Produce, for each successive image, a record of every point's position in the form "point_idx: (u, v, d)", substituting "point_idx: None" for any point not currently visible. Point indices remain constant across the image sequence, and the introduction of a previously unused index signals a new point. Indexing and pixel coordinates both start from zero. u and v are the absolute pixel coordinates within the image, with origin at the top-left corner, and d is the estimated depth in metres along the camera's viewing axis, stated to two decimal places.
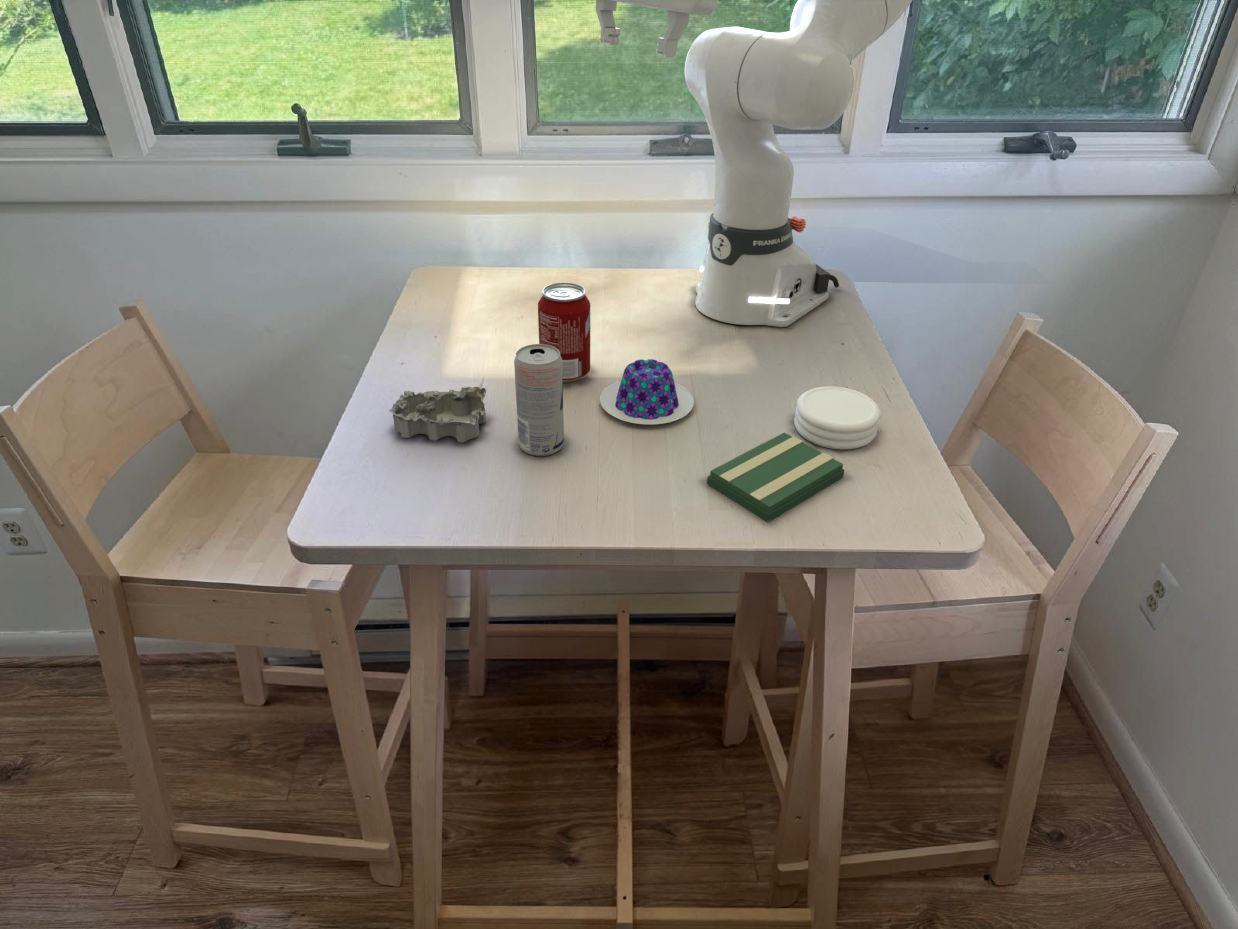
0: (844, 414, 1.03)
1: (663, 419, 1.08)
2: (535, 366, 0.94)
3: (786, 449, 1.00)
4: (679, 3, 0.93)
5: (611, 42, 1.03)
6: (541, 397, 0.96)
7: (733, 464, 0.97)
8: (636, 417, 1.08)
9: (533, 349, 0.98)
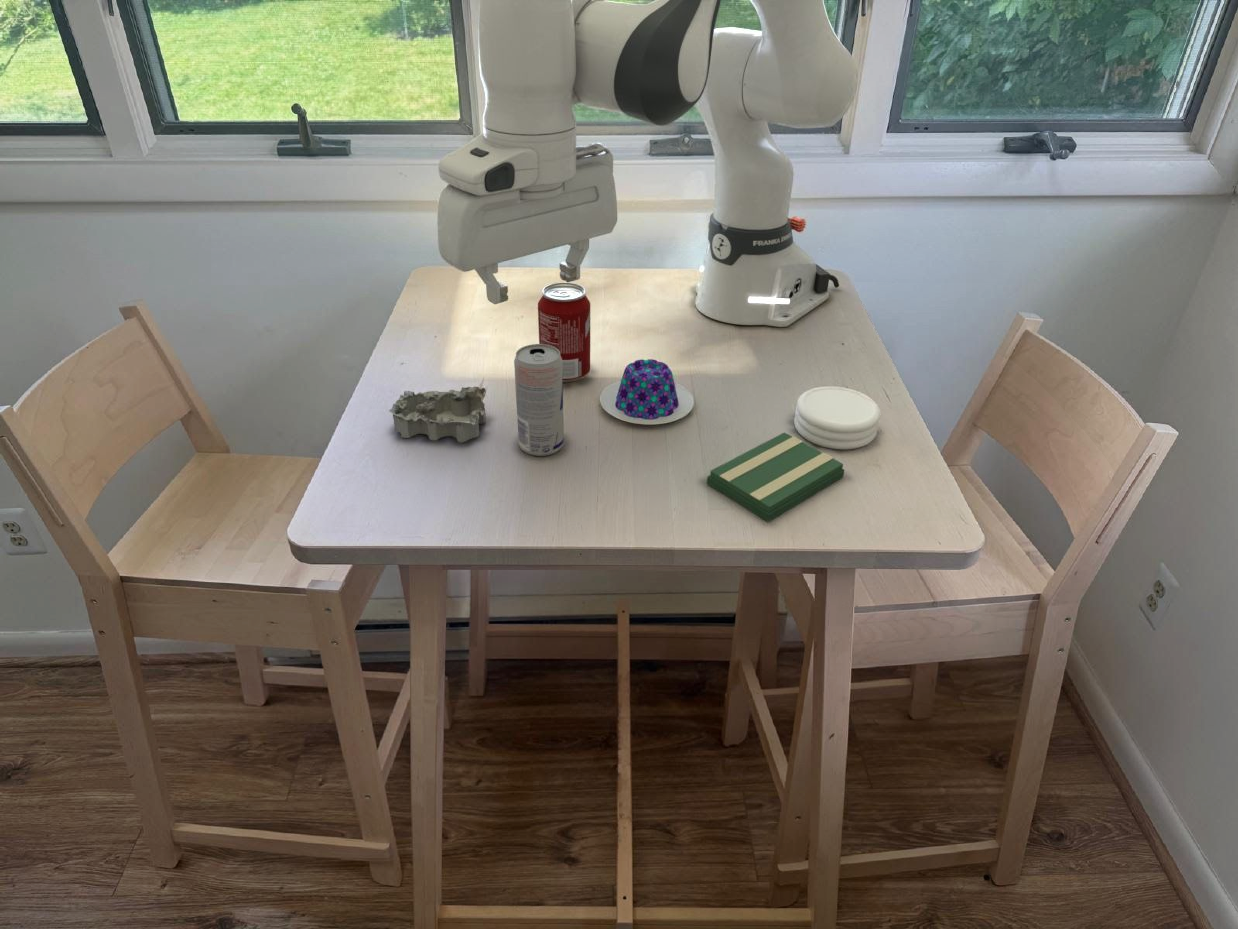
0: (844, 414, 1.03)
1: (663, 419, 1.08)
2: (535, 366, 0.94)
3: (786, 449, 1.00)
4: (601, 229, 0.92)
5: None
6: (541, 397, 0.96)
7: (733, 464, 0.97)
8: (636, 417, 1.08)
9: (533, 349, 0.98)
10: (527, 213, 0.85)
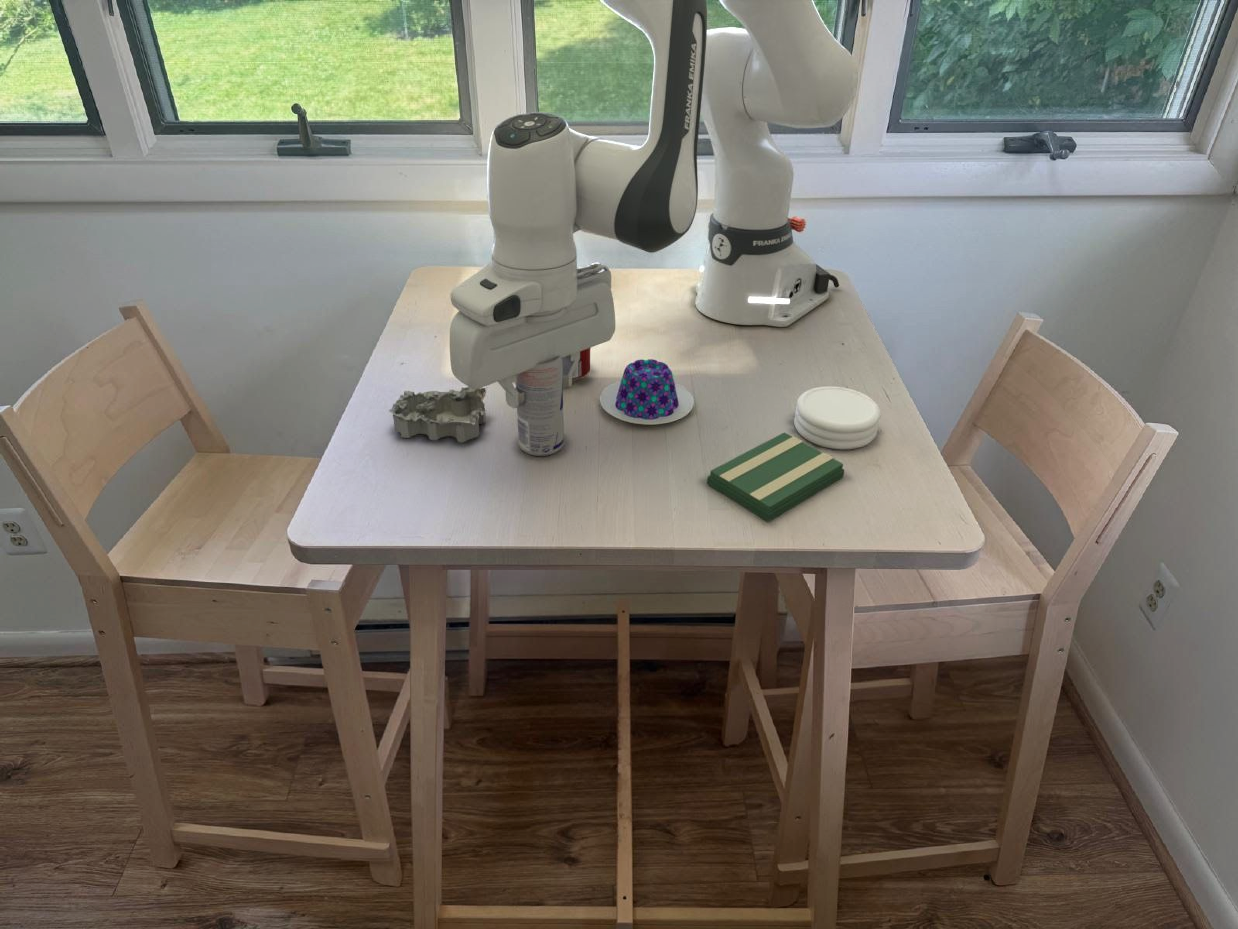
0: (844, 414, 1.03)
1: (663, 419, 1.08)
2: (535, 366, 0.94)
3: (786, 449, 1.00)
4: (600, 339, 0.99)
5: None
6: (541, 397, 0.96)
7: (733, 464, 0.97)
8: (636, 417, 1.08)
9: None
10: (532, 332, 0.92)
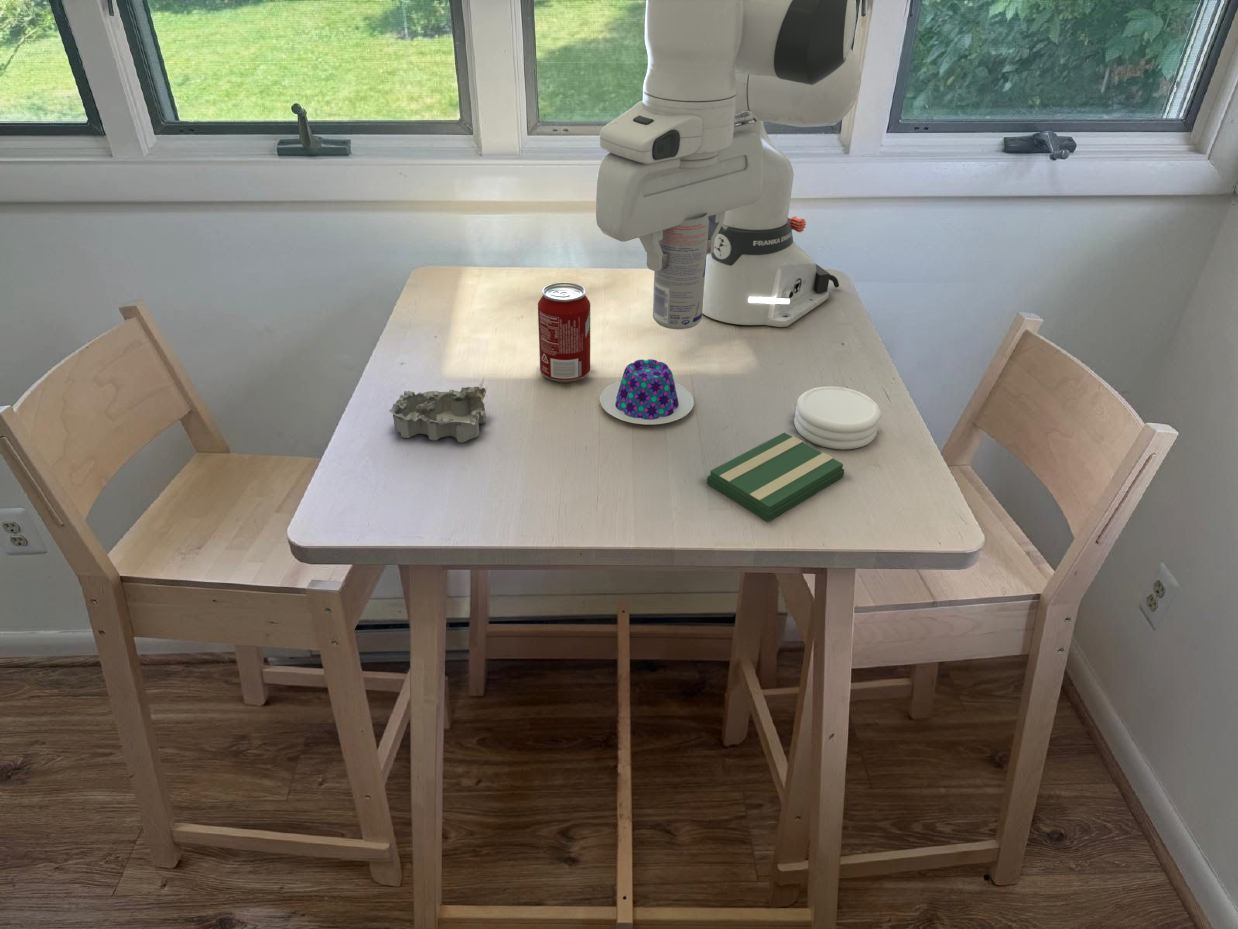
0: (844, 414, 1.03)
1: (663, 419, 1.08)
2: (683, 222, 0.86)
3: (786, 449, 1.00)
4: (747, 199, 0.91)
5: None
6: (686, 258, 0.88)
7: (733, 464, 0.97)
8: (636, 417, 1.08)
9: None
10: (683, 182, 0.84)
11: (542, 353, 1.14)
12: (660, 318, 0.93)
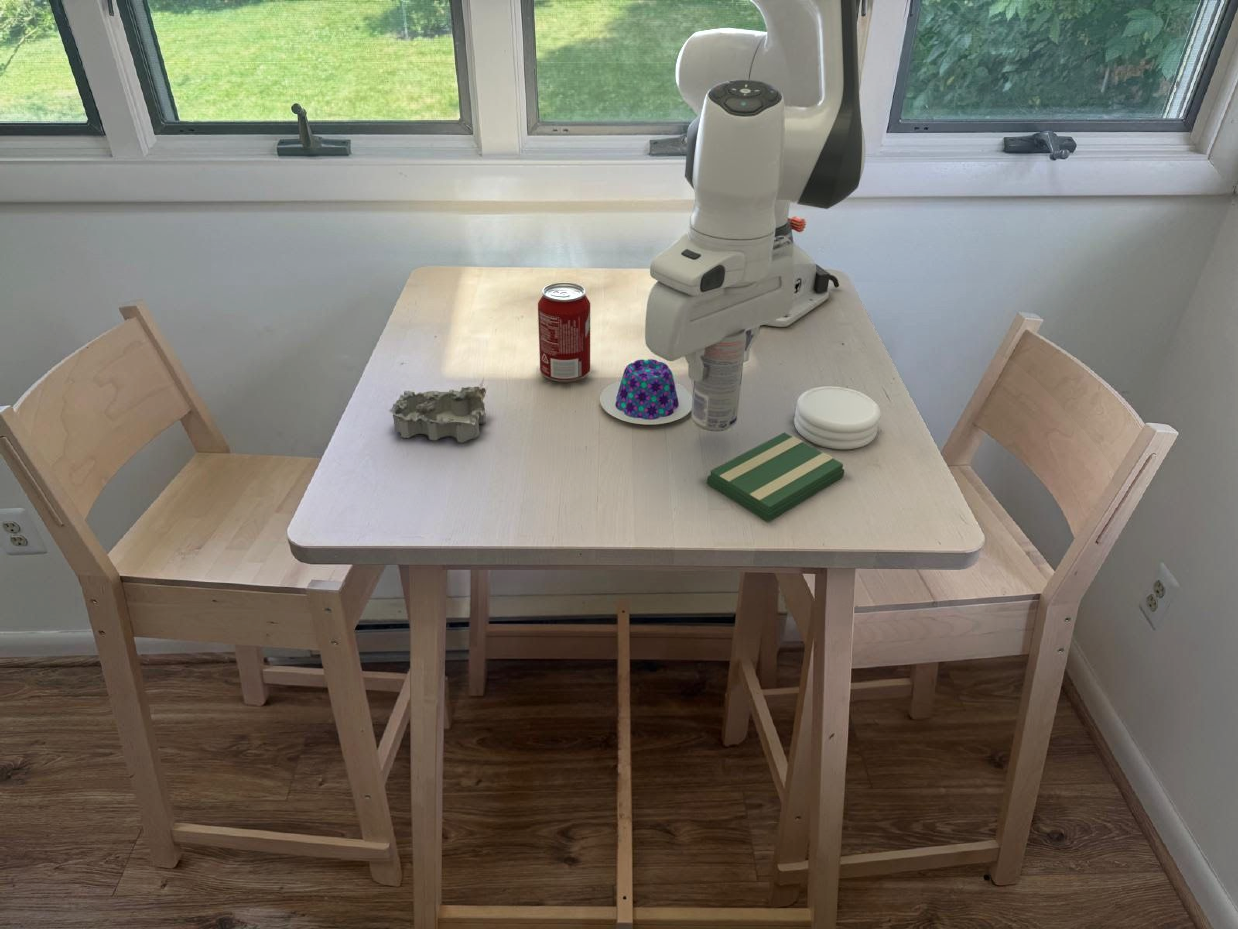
0: (844, 414, 1.03)
1: (663, 419, 1.08)
2: (724, 339, 0.94)
3: (786, 449, 1.00)
4: (779, 313, 0.98)
5: None
6: (725, 370, 0.96)
7: (733, 464, 0.97)
8: (636, 417, 1.08)
9: None
10: (724, 305, 0.92)
11: (542, 353, 1.14)
12: (699, 421, 1.00)
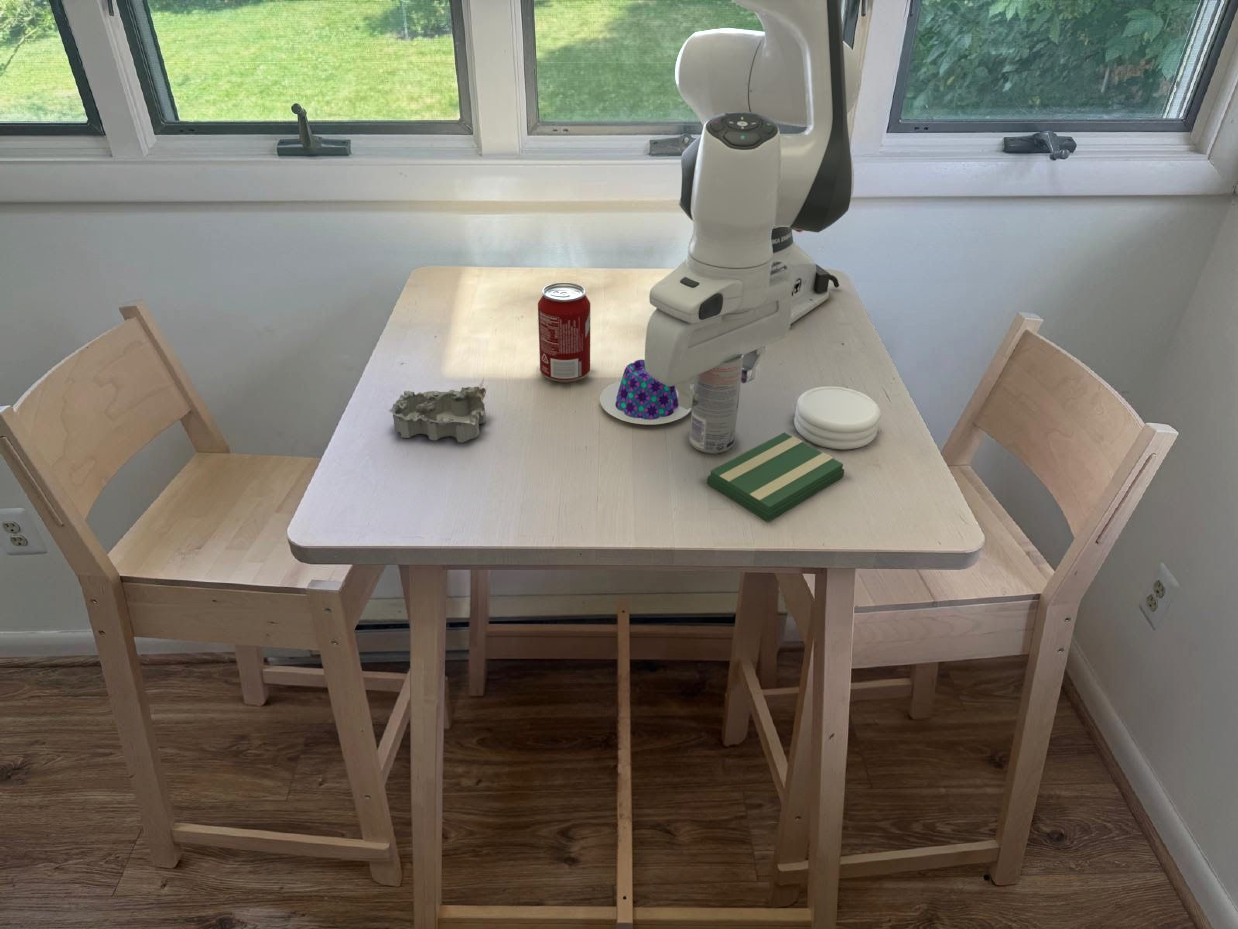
0: (844, 414, 1.03)
1: (663, 419, 1.08)
2: (721, 365, 0.95)
3: (786, 449, 1.00)
4: (777, 336, 1.00)
5: None
6: (722, 395, 0.97)
7: (733, 464, 0.97)
8: (636, 417, 1.08)
9: None
10: (723, 330, 0.93)
11: (542, 353, 1.14)
12: (696, 444, 1.02)
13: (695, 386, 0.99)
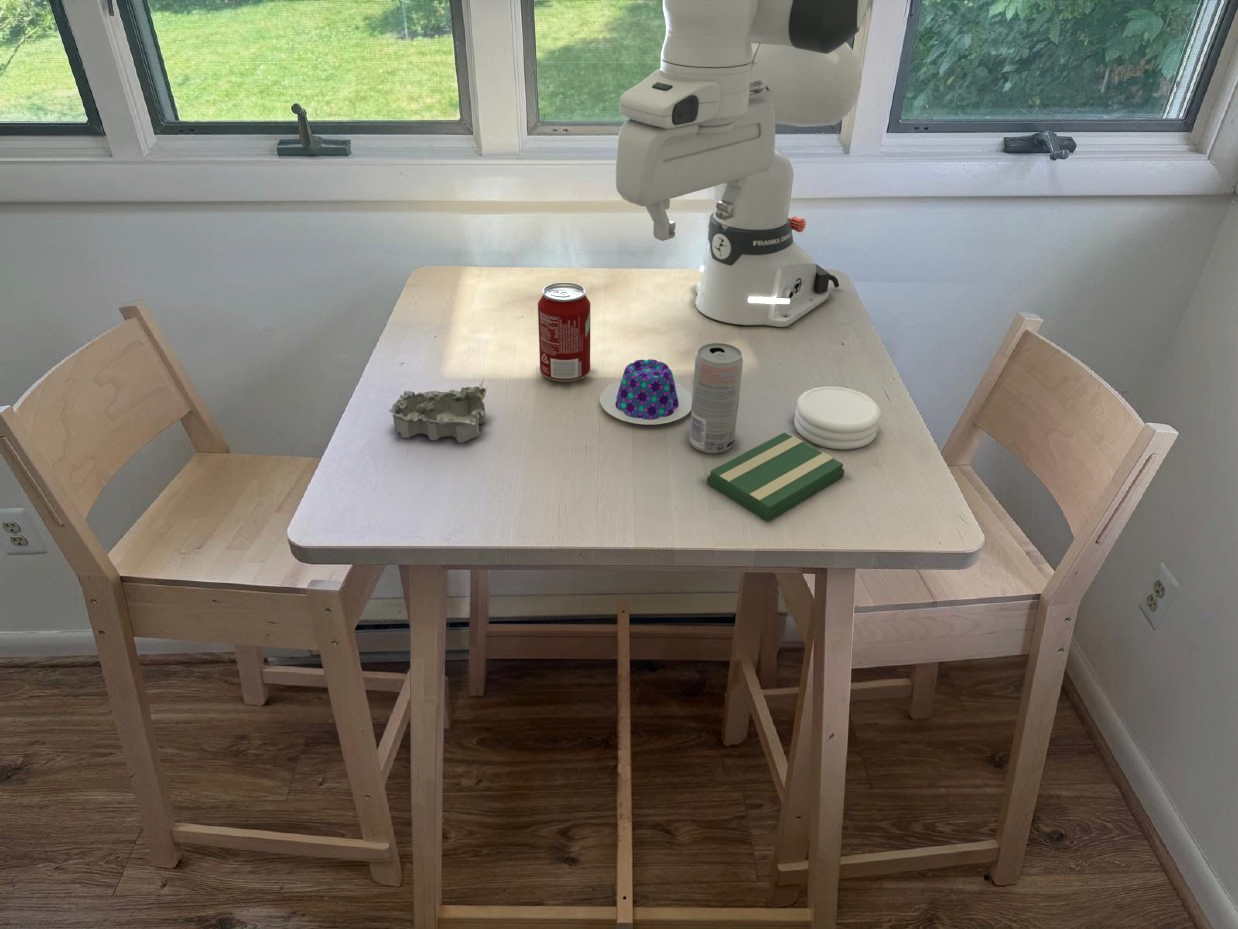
0: (844, 414, 1.03)
1: (663, 419, 1.08)
2: (721, 365, 0.95)
3: (786, 449, 1.00)
4: (760, 166, 0.93)
5: None
6: (722, 395, 0.97)
7: (733, 464, 0.97)
8: (636, 417, 1.08)
9: (712, 348, 0.99)
10: (700, 148, 0.86)
11: (542, 353, 1.14)
12: (696, 444, 1.02)
13: (695, 386, 0.99)
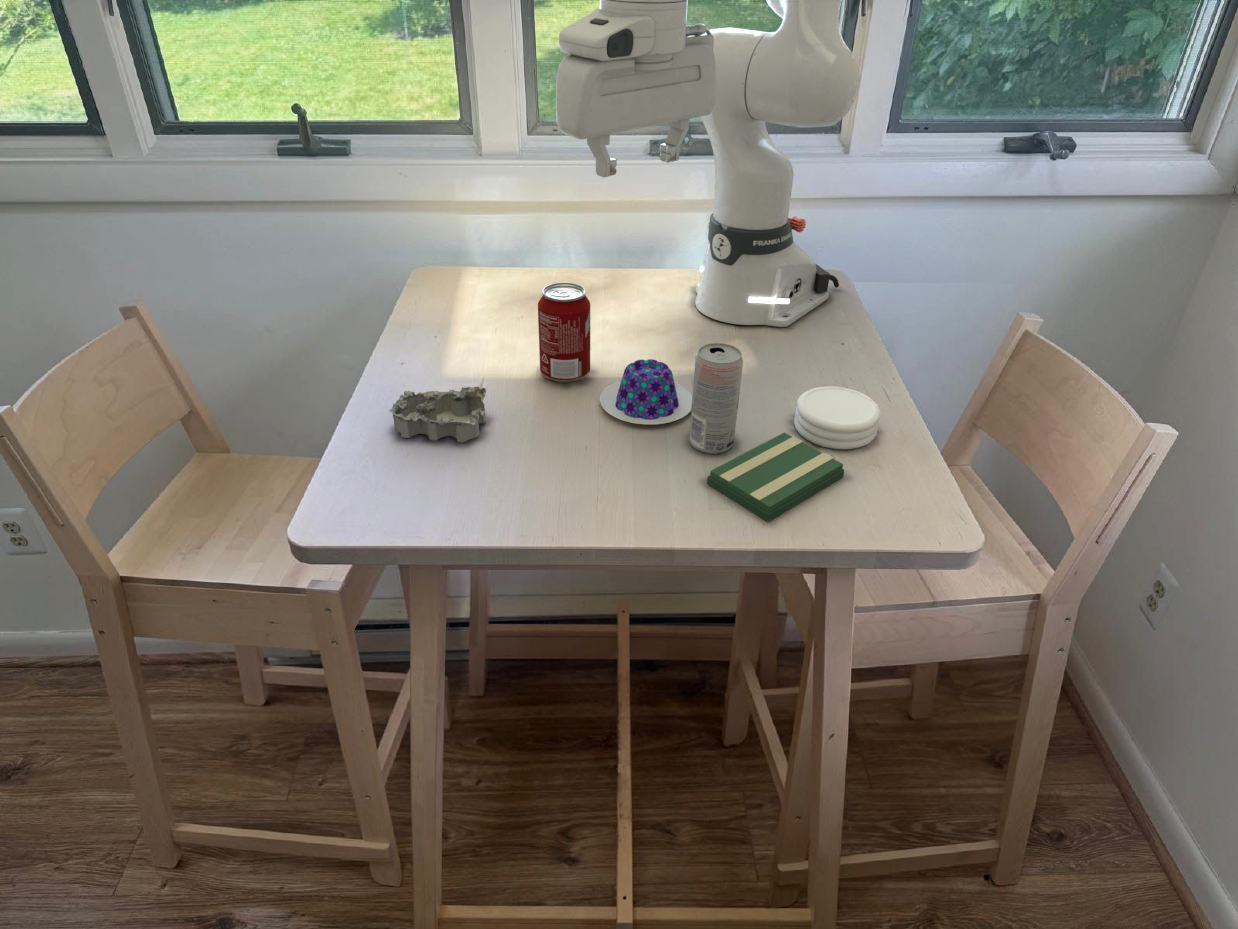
0: (844, 414, 1.03)
1: (663, 419, 1.08)
2: (721, 365, 0.95)
3: (786, 449, 1.00)
4: (701, 109, 0.96)
5: None
6: (722, 395, 0.97)
7: (733, 464, 0.97)
8: (636, 417, 1.08)
9: (712, 348, 0.99)
10: (638, 86, 0.90)
11: (542, 353, 1.14)
12: (696, 444, 1.02)
13: (695, 386, 0.99)
